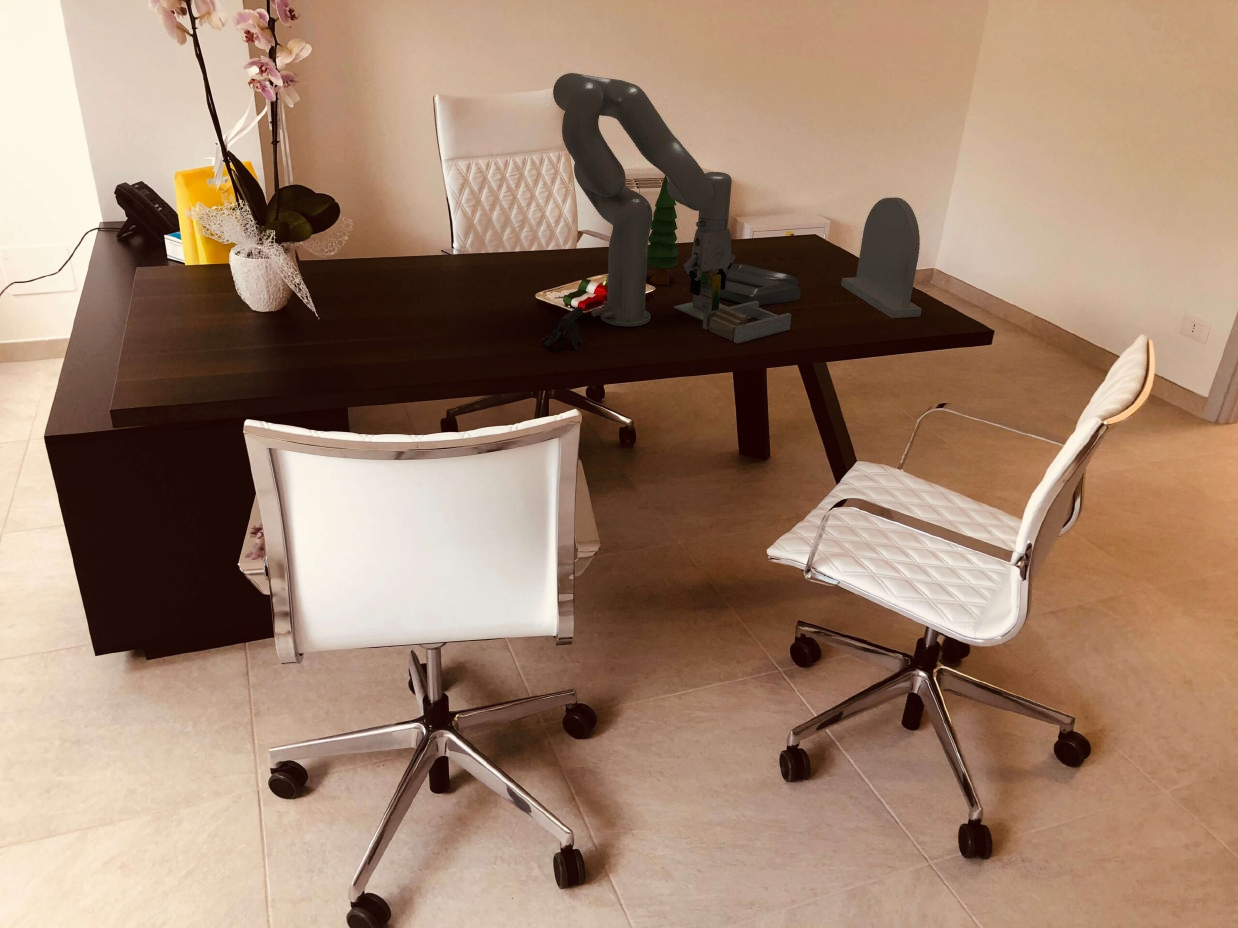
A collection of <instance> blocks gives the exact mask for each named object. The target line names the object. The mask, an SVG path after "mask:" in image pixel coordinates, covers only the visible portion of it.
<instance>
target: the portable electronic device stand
mask: <svg viewBox="0 0 1238 928" xmlns="http://www.w3.org/2000/svg"><path fill="white" fill-rule="evenodd" d="M583 313H584V310H583V307H581V306H577V307H574V308H573V309H572V310H571V311H569V312H568V313H566V314H565V315H564V316H562V317H561V318H560V319H559V321H558V324H557V325H556V327H555V329H554V330H553V331H552V332H551V335H550V336H549V335H546V336H545V337H544V338H542V339H541V344H540V345H541V347H542V348H543V349H544V350H545V349H546V350H547V349H549V348H551V346H553V345H554V344H555V343H556V342H558V341H559V340H561V339H562V338H563V337H564V336H565V334H566V331H567V335H568V336H569V339H570V342H571V344H572V348H573V349H574V351H577V350H579V347H578V345H580V347H582V346H583V345H584V342H583V341H584V340H583V338H582V335H581V333H580V330H579V327H578V325H577V322H576V320H577V319H578V318H580V317H581V316H582V315H583ZM561 327H563V329H562V331H560V328H561Z"/></svg>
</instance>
